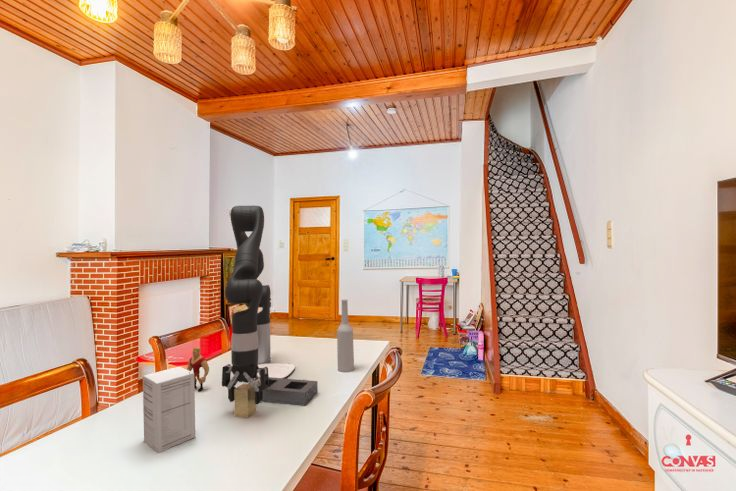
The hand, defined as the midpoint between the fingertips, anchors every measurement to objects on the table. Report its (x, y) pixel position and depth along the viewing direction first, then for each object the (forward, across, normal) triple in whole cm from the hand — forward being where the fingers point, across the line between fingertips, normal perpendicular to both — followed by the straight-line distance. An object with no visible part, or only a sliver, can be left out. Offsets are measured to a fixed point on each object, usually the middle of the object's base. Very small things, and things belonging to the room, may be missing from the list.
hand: (245, 402), depth 106 cm
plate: (+4, -11, +33) cm, 35 cm away
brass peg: (+4, 0, 0) cm, 4 cm away
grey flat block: (+4, +4, +14) cm, 15 cm away
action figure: (+4, -28, +13) cm, 31 cm away
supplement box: (+4, -11, -17) cm, 21 cm away
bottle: (+4, +17, +44) cm, 47 cm away
